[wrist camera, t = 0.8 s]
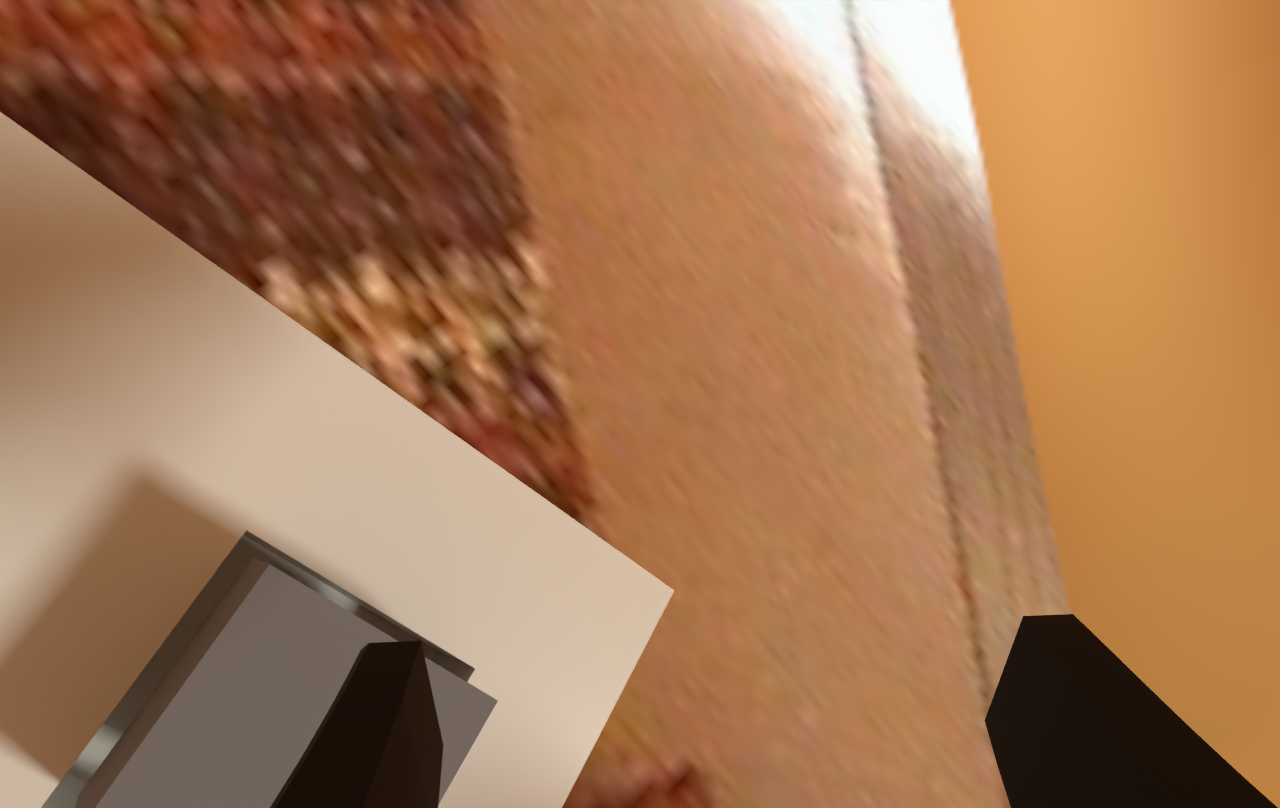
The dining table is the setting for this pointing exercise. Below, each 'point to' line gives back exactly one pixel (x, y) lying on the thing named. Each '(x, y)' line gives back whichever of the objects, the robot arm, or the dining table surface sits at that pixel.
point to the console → (255, 506)
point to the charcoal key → (257, 702)
